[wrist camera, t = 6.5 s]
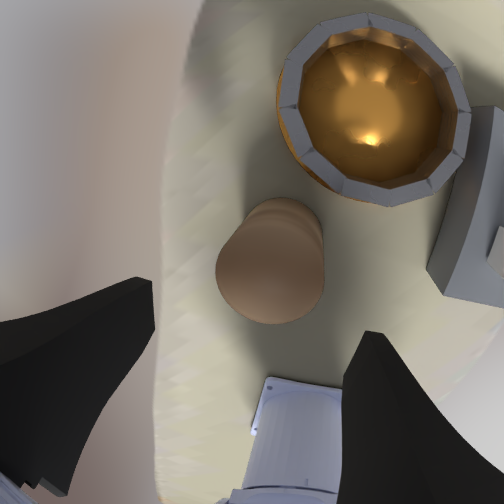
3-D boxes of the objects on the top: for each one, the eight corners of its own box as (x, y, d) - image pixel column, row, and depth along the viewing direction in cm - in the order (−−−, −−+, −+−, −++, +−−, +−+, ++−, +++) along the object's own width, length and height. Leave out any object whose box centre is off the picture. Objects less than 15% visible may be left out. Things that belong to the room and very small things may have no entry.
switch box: (491, 286, 14) (515, 315, 11) (425, 269, 15) (446, 301, 12) (532, 145, 10) (566, 154, 7) (466, 107, 11) (501, 105, 7)
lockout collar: (435, 221, 14) (451, 235, 12) (264, 179, 15) (255, 188, 13) (463, 58, 9) (482, 51, 7) (290, 9, 11) (285, -9, 9)
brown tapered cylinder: (312, 279, 17) (309, 333, 12) (238, 263, 17) (212, 310, 13) (330, 207, 15) (336, 240, 10) (248, 190, 15) (220, 216, 11)
